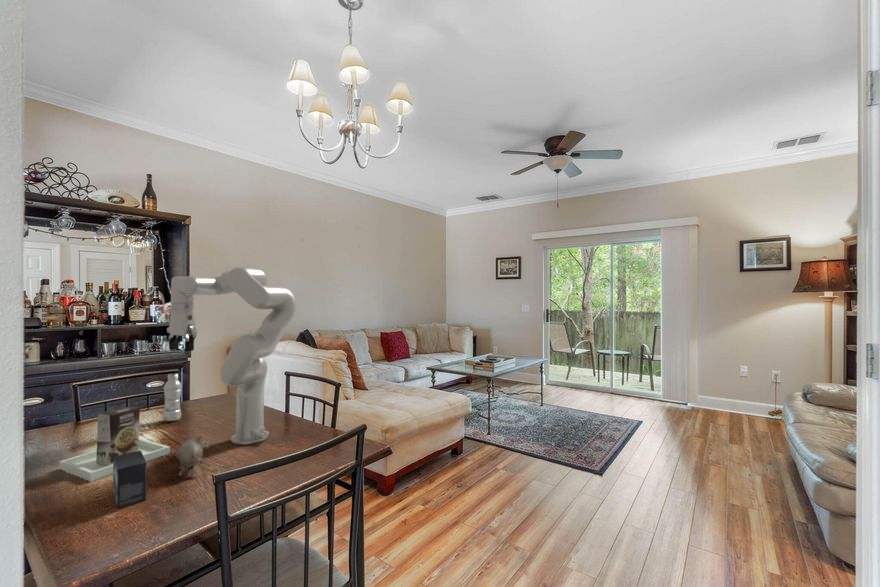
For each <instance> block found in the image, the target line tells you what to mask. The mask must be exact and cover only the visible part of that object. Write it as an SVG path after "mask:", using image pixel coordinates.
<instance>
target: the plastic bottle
mask: <svg viewBox="0 0 880 587" xmlns="http://www.w3.org/2000/svg"><path fill="white" fill-rule="evenodd" d="M182 388H183V384H182V383H181V382H180V380H179V373H169V374H167V381H166V382H165V384H164V386H163V394H164V408H163V413H162V419H163V421H164V422H175V421H178V420H179V419H181V417H182V409H181V394H182Z"/></svg>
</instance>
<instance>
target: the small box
mask: <svg viewBox="0 0 880 587" xmlns="http://www.w3.org/2000/svg"><path fill="white" fill-rule="evenodd" d="M112 479H113V480H112V488H113V489H112V490H113V492H112V493H113V497H114V502H115V506H116V509H121V508H124V507H127V506H130V505H131V506H132V505H135V504H137V503H141V502H145V501H147V462H146V460H145V458H144V456H143V454H142V452H141V450H139V451H135V452H131V453H127V454H123V455H118V456H114V460H113V474H112Z"/></svg>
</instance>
